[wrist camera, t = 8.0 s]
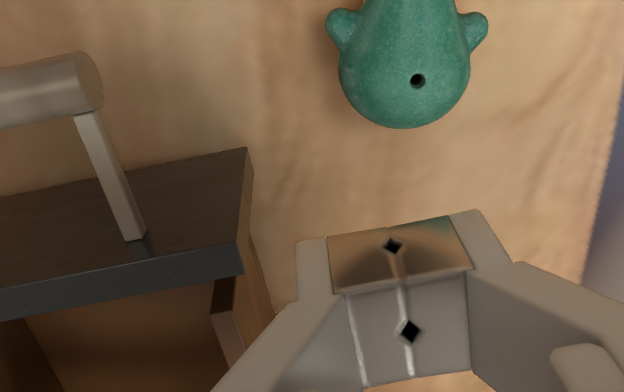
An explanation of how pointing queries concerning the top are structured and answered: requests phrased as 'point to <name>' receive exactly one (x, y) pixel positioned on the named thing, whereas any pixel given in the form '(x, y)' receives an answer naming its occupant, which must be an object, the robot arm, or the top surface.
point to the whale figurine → (404, 58)
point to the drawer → (122, 257)
